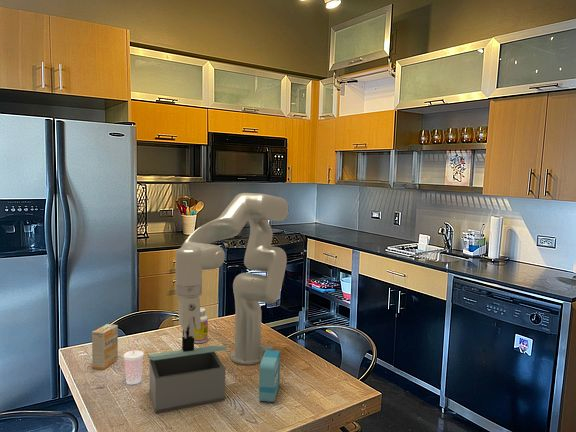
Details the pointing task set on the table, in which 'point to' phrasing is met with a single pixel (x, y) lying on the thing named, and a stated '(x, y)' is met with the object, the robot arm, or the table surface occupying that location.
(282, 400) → the table surface
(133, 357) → the beverage cup
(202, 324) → the supplement bottle
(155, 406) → the storage box
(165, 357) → the lid
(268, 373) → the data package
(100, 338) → the supplement box
